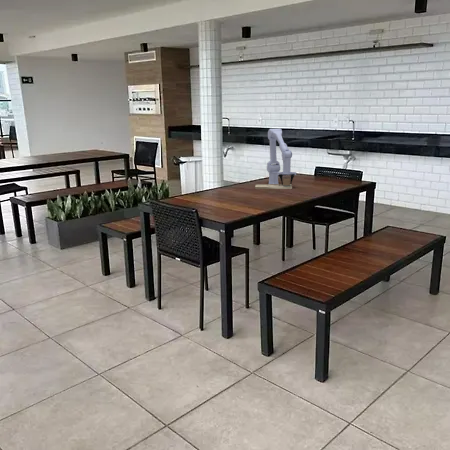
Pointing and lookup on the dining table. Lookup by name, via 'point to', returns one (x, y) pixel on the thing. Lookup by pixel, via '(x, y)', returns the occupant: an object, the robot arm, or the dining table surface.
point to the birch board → (272, 187)
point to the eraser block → (286, 181)
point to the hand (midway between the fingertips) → (286, 184)
